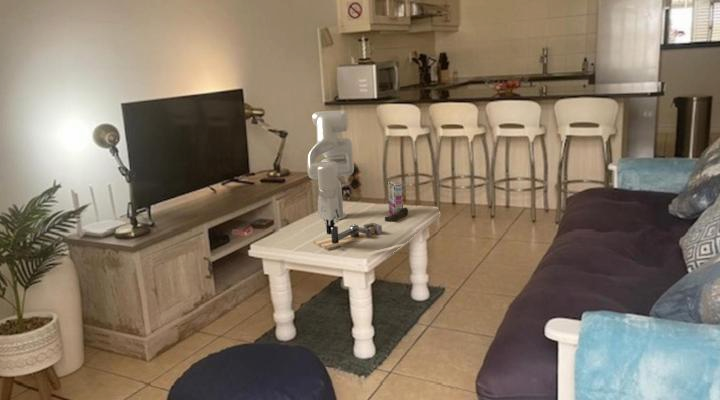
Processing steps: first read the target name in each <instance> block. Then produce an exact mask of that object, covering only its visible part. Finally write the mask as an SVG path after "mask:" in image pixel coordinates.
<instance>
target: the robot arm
mask: <svg viewBox="0 0 720 400" xmlns="http://www.w3.org/2000/svg"><path fill="white" fill-rule="evenodd" d="M311 118H312V119H311V120H312V123H313V125H314V126H315V127H316V144H314V145H313V147H312V148H311V149H310V151H309V152H308V154H307V160H306V161H307V165H306V166H307V175H308V177H309V179H312V180H317V181H318V183H317V184H318V194H319V195H318V198H317V214H318V217H319V219H322V220H323V222H324V224H325V226H326V228H325V230H326V234H327V235H330V236H331V227H332V226H336V225H335V224H336V223H339V220H344V219H345V218H346V217H347V214H346V213H345V212H344V206H343V191H342V183H341V181H340V180H339V178H337V177H340V176H341V177H342V176H344V177H345V176H351V175H352V174H354V172H355V171H354V170H355V163H354V149H353V148H354V147H353V143H352V140H351V139H350V138H349V137H338V136H337V135H338V134H337V133H340V132H341V133H343V132H347V131H348V128H349V115H348V112H347V110H339V109H338V110H326V111H315V112H314V113H312V115H311ZM321 155H322V156H323V157H325V158H323V159H322V160H321V161H316V162H315V159H316V158H318V157H320V156H321Z"/></svg>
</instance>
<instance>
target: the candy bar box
mask: <svg viewBox="0 0 720 400" xmlns="http://www.w3.org/2000/svg"><path fill="white" fill-rule="evenodd" d="M387 185H388V187H387V189H388V213H390V214H391V215H393V214H395V213H397V212H399V211H400V209H402V208H404V194H403V193H404V191H403V184H402V183H400V182H398V181H388V182H387Z"/></svg>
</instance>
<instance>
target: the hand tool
mask: <svg viewBox="0 0 720 400" xmlns="http://www.w3.org/2000/svg"><path fill="white" fill-rule="evenodd" d="M408 215H409V209H408V207H403V208H402V209H400V211H399V212H397V213H395V214H391V215H388V216H385V218H384V221H385V222H387V223H391V222H396V221H397V220H400V219H401V218H404V217H405V218H406V217H407V216H408Z"/></svg>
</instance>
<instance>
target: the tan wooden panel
mask: <svg viewBox="0 0 720 400" xmlns="http://www.w3.org/2000/svg"><path fill="white" fill-rule="evenodd" d="M382 225H383V224H382ZM382 225H381V224H378V223H375V222H371V223H367V224H366V223H365V224H363V228H369V227H374V228H375V233H374V234H372V236H366V233H359V236H357V237H351V236H350V235H349V236H347V237H345V238H343V239H341V240H339V243H335V244H334V243H332V237H331V236H330V237H326V238H321V239H317V240H314V241H313V244H314V245H315V246H318V247H320V248H321V249H323V250H326V251H330V250H335V249H339V248H342V245H346V244H349V243H354V242H357V241H362V240H366V239H369V238H375V237H379V236H382V235H384V233H383V228H382V227H383V226H382Z"/></svg>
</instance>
